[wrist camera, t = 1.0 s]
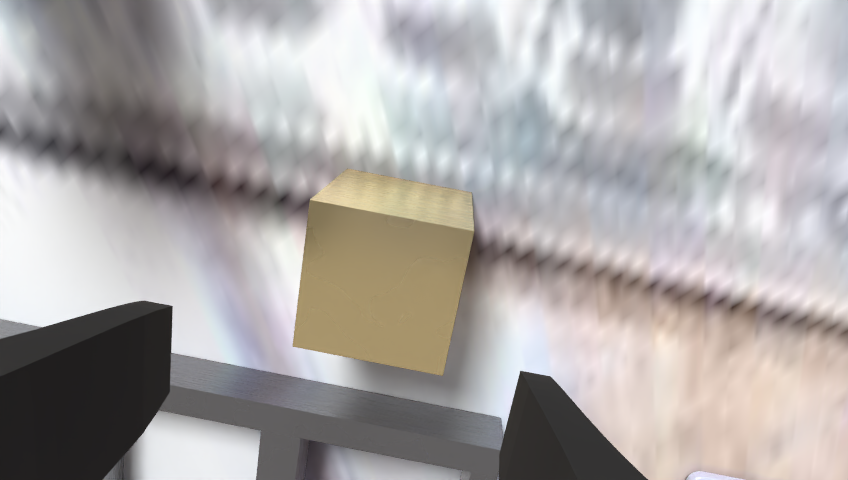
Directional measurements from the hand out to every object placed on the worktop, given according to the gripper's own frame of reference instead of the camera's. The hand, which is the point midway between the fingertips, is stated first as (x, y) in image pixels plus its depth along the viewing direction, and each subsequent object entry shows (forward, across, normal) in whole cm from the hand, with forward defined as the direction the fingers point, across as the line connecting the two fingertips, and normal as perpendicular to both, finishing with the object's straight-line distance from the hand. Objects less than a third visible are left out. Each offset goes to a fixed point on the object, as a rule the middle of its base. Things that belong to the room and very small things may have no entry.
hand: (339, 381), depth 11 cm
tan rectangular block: (+10, 0, 0) cm, 10 cm away
